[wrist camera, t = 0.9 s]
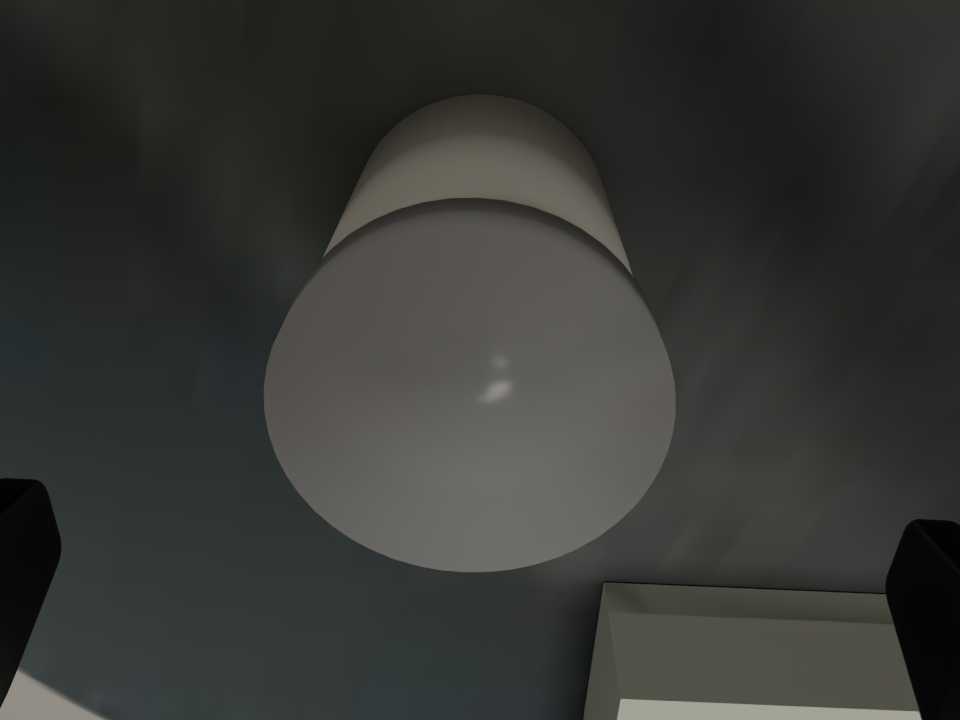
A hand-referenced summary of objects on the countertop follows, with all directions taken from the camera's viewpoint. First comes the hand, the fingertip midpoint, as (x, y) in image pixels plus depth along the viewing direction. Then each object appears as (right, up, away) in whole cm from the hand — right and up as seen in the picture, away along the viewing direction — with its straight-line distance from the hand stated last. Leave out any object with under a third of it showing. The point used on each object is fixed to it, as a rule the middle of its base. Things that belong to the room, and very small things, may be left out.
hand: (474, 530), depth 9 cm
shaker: (0, +5, +8) cm, 9 cm away
